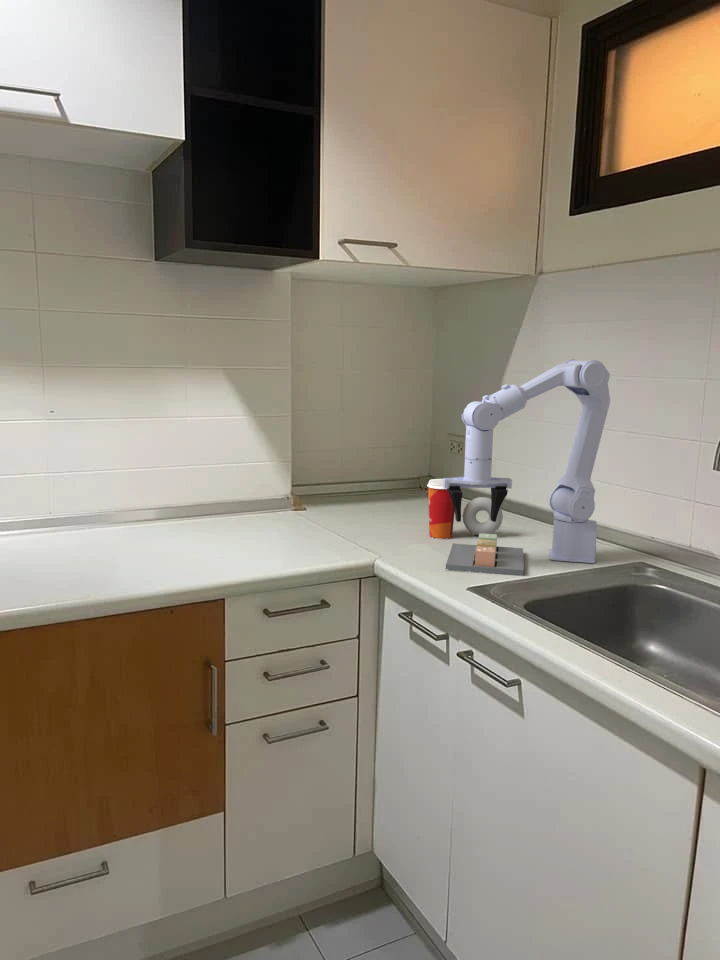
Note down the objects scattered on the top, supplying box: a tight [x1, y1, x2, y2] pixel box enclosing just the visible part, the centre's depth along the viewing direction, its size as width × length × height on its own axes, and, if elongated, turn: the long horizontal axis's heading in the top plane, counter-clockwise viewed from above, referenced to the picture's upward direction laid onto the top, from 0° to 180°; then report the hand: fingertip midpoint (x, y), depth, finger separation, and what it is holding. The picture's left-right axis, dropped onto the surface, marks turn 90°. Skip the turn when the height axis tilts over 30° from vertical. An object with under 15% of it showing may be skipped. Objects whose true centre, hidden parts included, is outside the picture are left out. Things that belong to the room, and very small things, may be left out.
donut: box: [461, 496, 504, 537], centre depth 186 cm, size 10×3×10 cm, turn 84°
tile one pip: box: [477, 533, 498, 546], centre depth 170 cm, size 4×4×3 cm
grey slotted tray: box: [445, 543, 524, 577], centre depth 164 cm, size 16×18×1 cm
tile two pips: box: [476, 539, 497, 556], centre depth 164 cm, size 4×4×3 cm
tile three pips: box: [474, 546, 496, 567], centre depth 158 cm, size 4×4×3 cm
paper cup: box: [426, 478, 455, 540], centre depth 185 cm, size 8×8×14 cm
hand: (475, 520), depth 161 cm, fingers open, 7 cm apart
